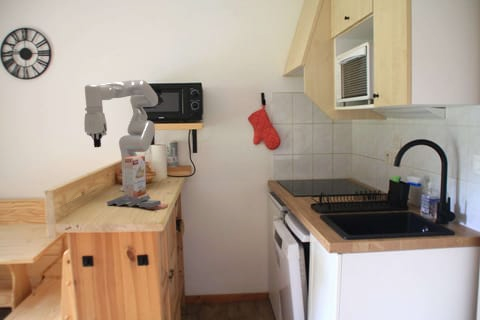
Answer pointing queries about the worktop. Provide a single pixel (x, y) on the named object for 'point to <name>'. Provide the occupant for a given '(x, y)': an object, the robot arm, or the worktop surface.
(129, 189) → the cracker box
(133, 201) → the domino
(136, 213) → the worktop surface
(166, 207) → the red domino
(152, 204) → the domino
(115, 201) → the domino
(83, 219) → the worktop surface
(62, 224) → the worktop surface
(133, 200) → the domino
